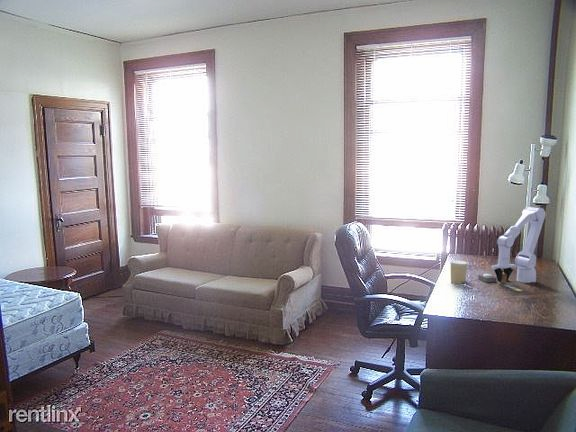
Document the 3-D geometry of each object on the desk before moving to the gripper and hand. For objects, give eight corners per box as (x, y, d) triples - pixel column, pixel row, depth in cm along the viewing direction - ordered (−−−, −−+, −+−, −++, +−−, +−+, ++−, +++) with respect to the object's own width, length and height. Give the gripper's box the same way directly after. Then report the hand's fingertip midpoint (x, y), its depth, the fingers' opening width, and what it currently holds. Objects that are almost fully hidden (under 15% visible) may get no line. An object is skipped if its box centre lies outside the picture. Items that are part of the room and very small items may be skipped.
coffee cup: (465, 280, 262) (466, 260, 260) (467, 285, 253) (468, 264, 251) (448, 279, 264) (449, 259, 263) (449, 284, 255) (451, 263, 254)
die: (501, 278, 262) (502, 271, 262) (508, 280, 259) (508, 273, 258) (497, 279, 260) (497, 272, 260) (503, 281, 257) (504, 274, 256)
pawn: (503, 281, 254) (503, 272, 253) (507, 283, 250) (508, 274, 249) (497, 281, 253) (497, 273, 252) (501, 283, 249) (502, 275, 248)
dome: (488, 278, 261) (488, 273, 260) (493, 280, 256) (494, 275, 256) (480, 279, 259) (481, 274, 259) (486, 281, 255) (486, 276, 254)
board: (502, 279, 264) (502, 273, 264) (534, 292, 240) (535, 285, 240) (474, 281, 260) (474, 275, 259) (504, 294, 236) (504, 287, 235)
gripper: (510, 255, 255) (508, 278, 257) (488, 256, 252) (486, 280, 253) (519, 258, 248) (517, 281, 250) (496, 259, 245) (495, 283, 247)
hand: (502, 281), depth 251 cm, fingers closed on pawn, 4 cm apart
